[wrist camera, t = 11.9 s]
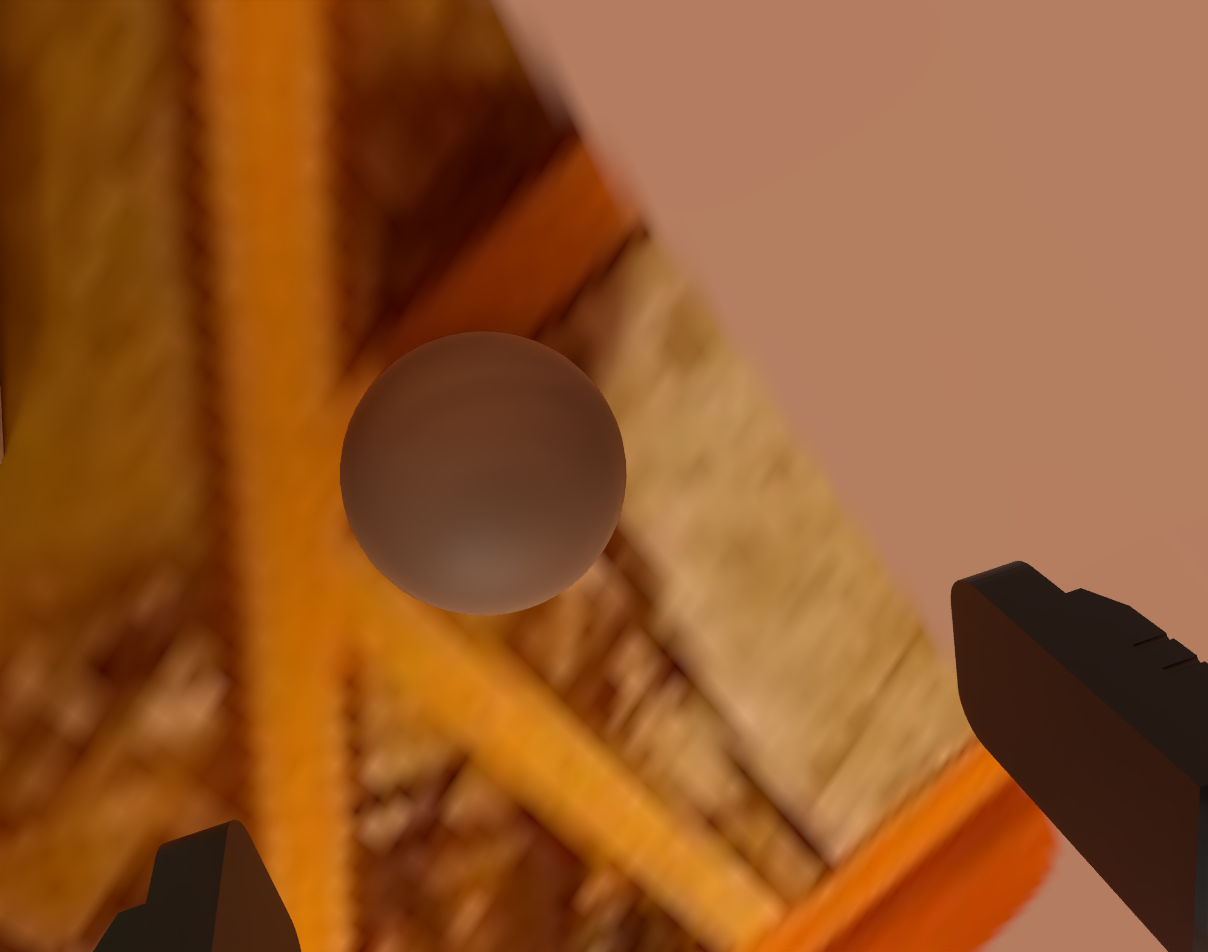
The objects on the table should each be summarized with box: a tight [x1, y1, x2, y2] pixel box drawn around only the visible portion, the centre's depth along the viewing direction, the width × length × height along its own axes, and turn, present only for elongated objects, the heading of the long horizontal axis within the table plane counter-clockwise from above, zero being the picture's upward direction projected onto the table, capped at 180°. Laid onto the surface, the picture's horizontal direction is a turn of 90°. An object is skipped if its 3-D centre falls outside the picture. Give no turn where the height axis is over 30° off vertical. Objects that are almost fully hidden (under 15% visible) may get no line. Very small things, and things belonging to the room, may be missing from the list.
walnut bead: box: [340, 331, 626, 616], centre depth 19 cm, size 5×5×5 cm
